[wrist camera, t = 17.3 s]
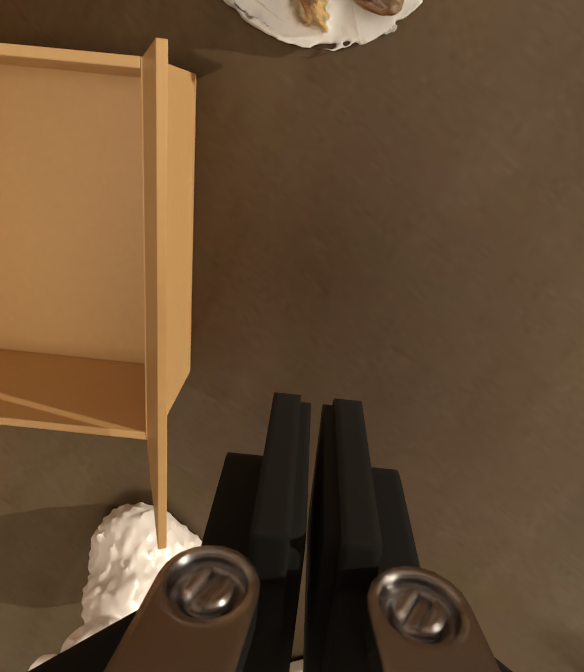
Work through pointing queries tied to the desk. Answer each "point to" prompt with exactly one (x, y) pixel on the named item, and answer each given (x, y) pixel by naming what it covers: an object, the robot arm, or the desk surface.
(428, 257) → the desk surface
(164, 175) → the flap
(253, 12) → the frog figurine
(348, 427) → the robot arm
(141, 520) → the sitting furry creature
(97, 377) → the carton
